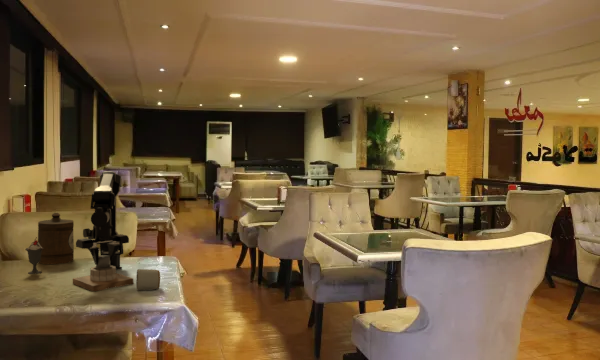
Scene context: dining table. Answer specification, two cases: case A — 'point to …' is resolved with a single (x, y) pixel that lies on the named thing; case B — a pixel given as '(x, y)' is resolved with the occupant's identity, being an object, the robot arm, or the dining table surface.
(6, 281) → the dining table surface
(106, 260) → the smooth gray stone
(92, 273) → the brown board with ring
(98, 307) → the dining table surface
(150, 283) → the ceramic mug
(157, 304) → the dining table surface
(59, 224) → the wooden container
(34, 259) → the sundae
